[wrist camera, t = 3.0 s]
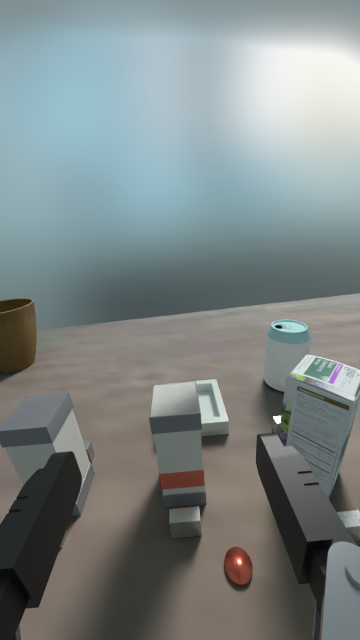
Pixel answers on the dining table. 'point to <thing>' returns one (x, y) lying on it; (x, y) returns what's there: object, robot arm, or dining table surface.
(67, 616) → the dining table surface
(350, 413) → the syrup box
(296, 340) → the can
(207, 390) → the tray
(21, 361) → the plant pot
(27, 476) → the block
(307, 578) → the robot arm
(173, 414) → the marked fuse
